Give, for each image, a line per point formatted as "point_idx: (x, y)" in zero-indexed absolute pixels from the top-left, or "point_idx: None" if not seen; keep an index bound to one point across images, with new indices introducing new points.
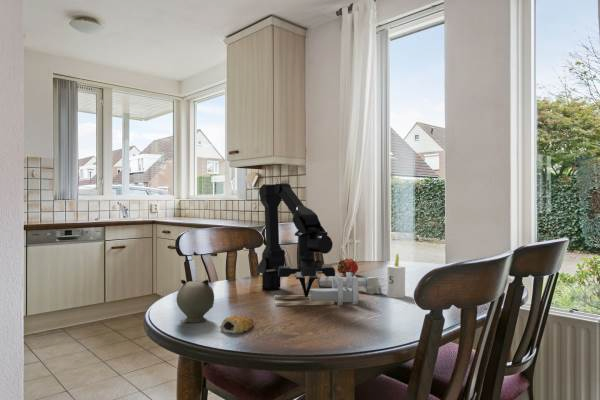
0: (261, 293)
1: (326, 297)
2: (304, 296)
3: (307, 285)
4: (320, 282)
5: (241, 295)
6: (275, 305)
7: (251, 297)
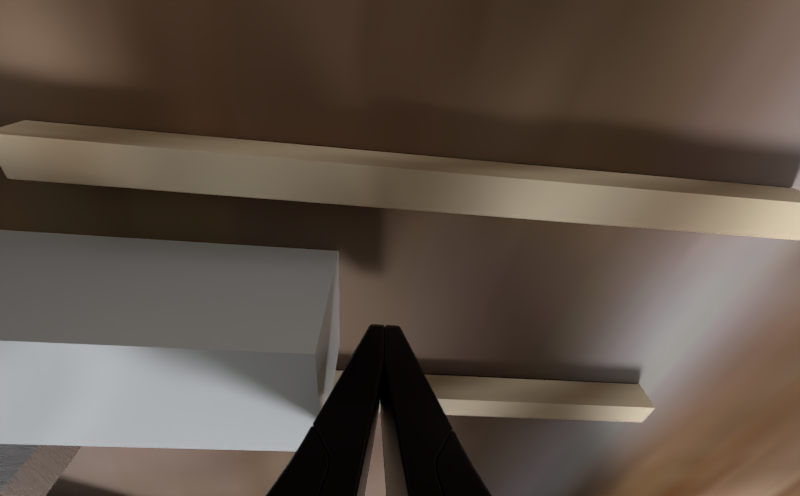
0: (640, 483)
1: (116, 275)
2: None
3: (362, 477)
4: None
5: (790, 465)
6: (796, 190)
7: (767, 431)
